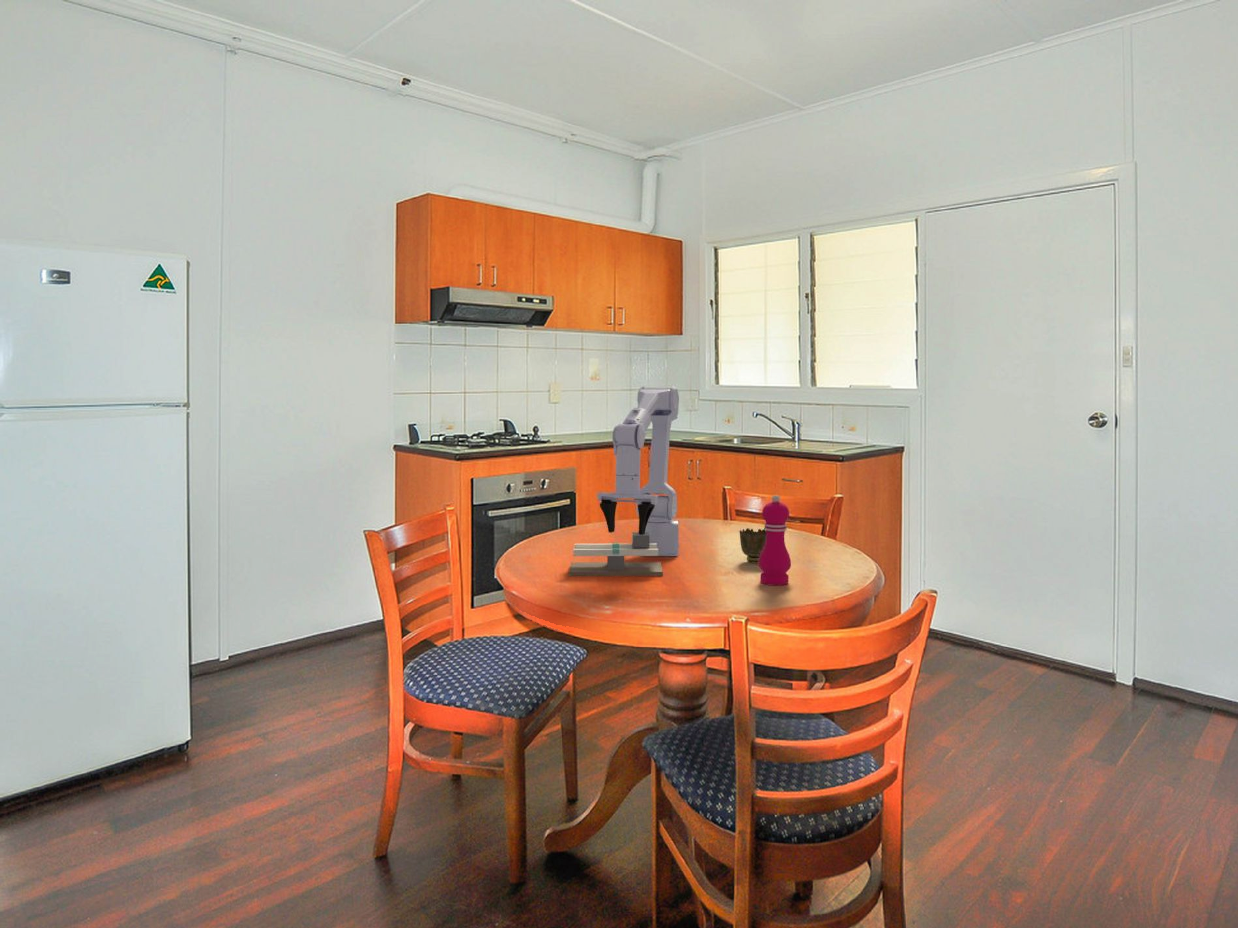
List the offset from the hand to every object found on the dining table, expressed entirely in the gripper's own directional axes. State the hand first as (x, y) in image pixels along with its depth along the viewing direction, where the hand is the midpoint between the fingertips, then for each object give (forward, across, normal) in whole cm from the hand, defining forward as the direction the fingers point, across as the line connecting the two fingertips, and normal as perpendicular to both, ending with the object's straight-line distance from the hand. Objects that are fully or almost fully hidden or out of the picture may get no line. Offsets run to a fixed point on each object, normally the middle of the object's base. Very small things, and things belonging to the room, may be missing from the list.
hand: (626, 533), depth 183 cm
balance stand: (+10, -4, +4) cm, 11 cm away
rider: (+5, +2, +6) cm, 7 cm away
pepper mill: (+10, +34, +7) cm, 36 cm away
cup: (+9, +25, +25) cm, 37 cm away
